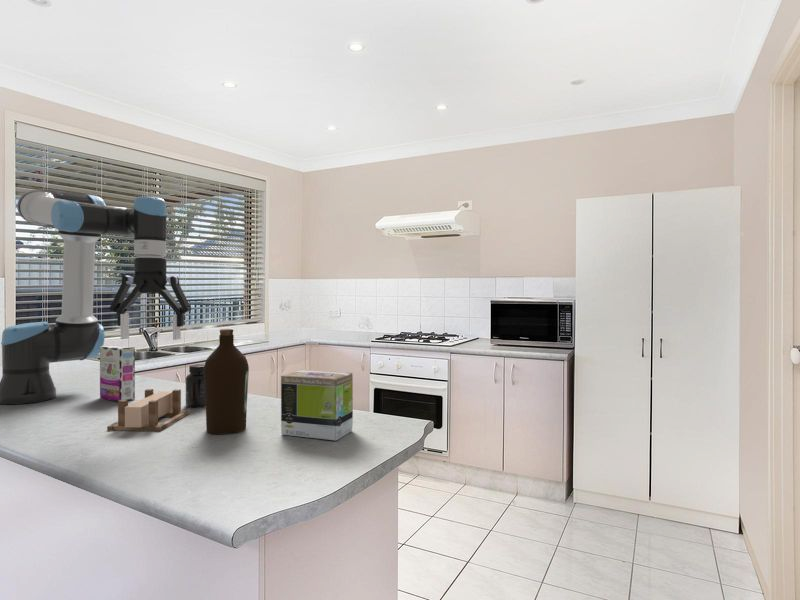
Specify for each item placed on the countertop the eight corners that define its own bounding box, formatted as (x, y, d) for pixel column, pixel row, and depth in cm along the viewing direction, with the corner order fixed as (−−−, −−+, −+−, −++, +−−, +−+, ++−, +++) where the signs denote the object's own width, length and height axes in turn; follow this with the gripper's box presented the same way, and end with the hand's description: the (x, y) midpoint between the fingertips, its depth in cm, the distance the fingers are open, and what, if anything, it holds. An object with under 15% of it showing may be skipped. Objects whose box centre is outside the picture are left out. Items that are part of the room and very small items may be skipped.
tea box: (353, 430, 127) (354, 372, 127) (335, 442, 118) (336, 379, 117) (300, 424, 132) (301, 368, 132) (279, 435, 123) (279, 374, 122)
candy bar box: (136, 399, 158) (135, 347, 157) (120, 402, 154) (120, 348, 153) (114, 395, 163) (114, 344, 163) (99, 398, 159) (98, 346, 159)
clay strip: (159, 409, 142) (159, 391, 142) (173, 409, 142) (173, 391, 142) (124, 427, 124) (124, 407, 124) (141, 427, 124) (141, 407, 124)
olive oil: (207, 437, 120) (207, 332, 119) (200, 426, 129) (200, 328, 128) (253, 431, 125) (253, 330, 124) (243, 421, 134) (243, 327, 134)
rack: (142, 412, 142) (142, 388, 142) (189, 413, 142) (189, 388, 142) (107, 430, 125) (107, 402, 125) (160, 431, 125) (160, 402, 125)
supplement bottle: (180, 406, 149) (180, 366, 149) (197, 401, 156) (197, 362, 155) (198, 409, 147) (198, 367, 146) (215, 404, 153) (215, 364, 153)
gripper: (93, 256, 128) (94, 339, 129) (192, 257, 128) (192, 341, 129) (111, 257, 136) (111, 336, 136) (204, 258, 136) (204, 338, 136)
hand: (150, 339), depth 133 cm, fingers open, 13 cm apart
